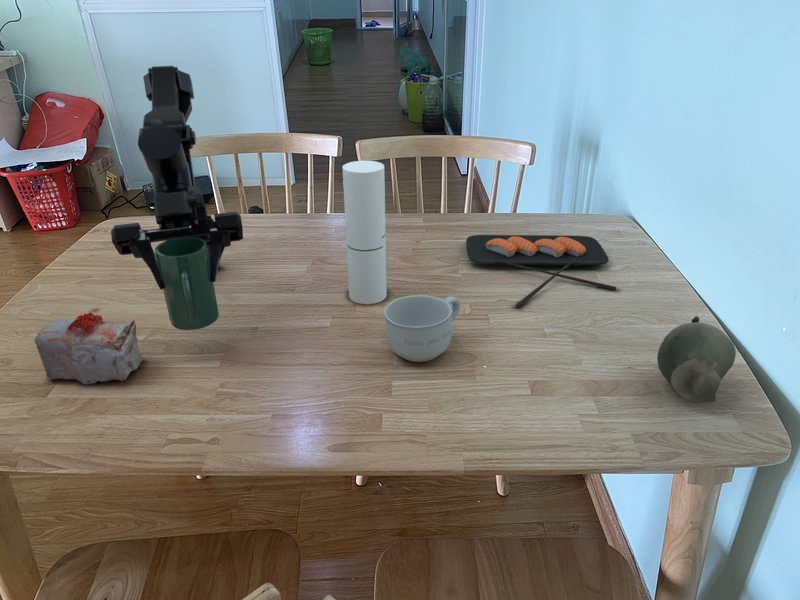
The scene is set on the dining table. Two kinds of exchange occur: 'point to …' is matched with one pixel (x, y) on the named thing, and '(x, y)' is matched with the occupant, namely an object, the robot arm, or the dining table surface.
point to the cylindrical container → (365, 230)
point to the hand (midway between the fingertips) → (187, 285)
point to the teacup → (420, 326)
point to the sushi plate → (537, 253)
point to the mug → (187, 282)
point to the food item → (88, 349)
